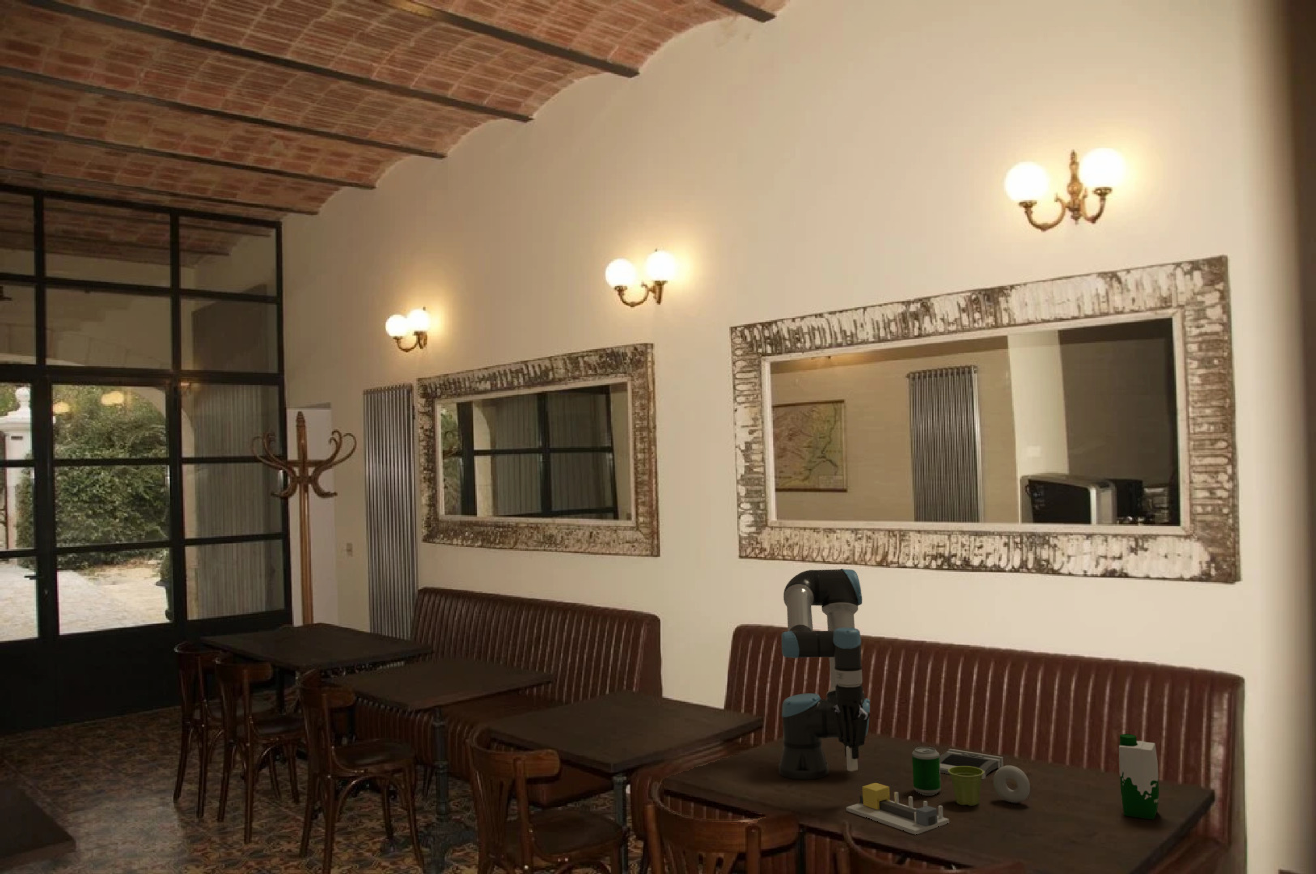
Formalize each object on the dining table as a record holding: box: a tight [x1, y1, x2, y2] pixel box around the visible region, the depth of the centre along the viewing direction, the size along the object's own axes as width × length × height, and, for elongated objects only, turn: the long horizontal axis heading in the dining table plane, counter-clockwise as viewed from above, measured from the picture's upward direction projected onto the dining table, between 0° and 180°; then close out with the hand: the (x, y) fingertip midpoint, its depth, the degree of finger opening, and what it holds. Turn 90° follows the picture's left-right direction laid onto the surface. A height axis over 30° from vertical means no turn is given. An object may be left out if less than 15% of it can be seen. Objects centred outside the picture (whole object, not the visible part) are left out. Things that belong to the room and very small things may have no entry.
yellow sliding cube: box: [862, 782, 891, 810], centre depth 276 cm, size 5×5×5 cm
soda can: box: [911, 746, 942, 796], centre depth 290 cm, size 8×8×12 cm
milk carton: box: [1118, 733, 1160, 820], centre depth 266 cm, size 9×9×20 cm
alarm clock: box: [939, 748, 1004, 780], centre depth 310 cm, size 17×5×16 cm
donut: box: [992, 765, 1031, 804], centre depth 278 cm, size 10×3×10 cm, turn 49°
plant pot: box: [948, 766, 984, 807], centre depth 280 cm, size 9×9×9 cm
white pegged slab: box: [845, 791, 950, 836], centre depth 270 cm, size 24×13×5 cm, turn 35°
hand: (852, 769), depth 283 cm, fingers closed
